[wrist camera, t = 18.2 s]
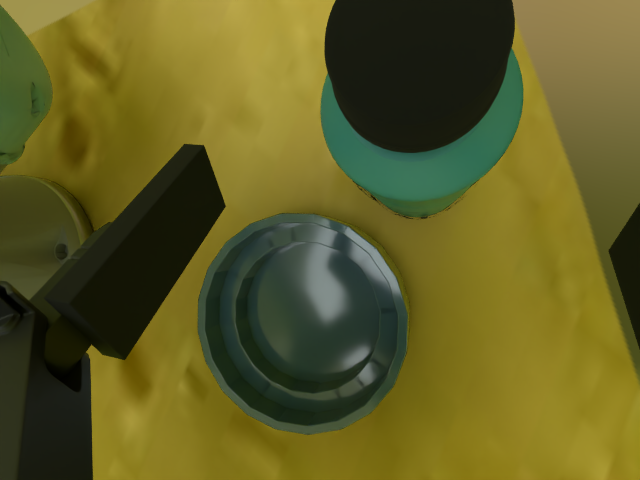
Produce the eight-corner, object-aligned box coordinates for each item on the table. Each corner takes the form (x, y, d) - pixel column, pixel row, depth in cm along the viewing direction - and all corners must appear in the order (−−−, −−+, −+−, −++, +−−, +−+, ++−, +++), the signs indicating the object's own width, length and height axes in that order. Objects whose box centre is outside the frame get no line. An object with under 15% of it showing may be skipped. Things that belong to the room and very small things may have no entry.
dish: (197, 320, 32) (162, 333, 27) (297, 180, 29) (275, 169, 25) (330, 443, 29) (314, 480, 24) (452, 298, 26) (458, 311, 22)
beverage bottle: (424, 109, 27) (433, -222, 7) (488, 180, 26) (694, 11, 6) (353, 171, 28) (203, 28, 9) (411, 241, 27) (389, 255, 8)
